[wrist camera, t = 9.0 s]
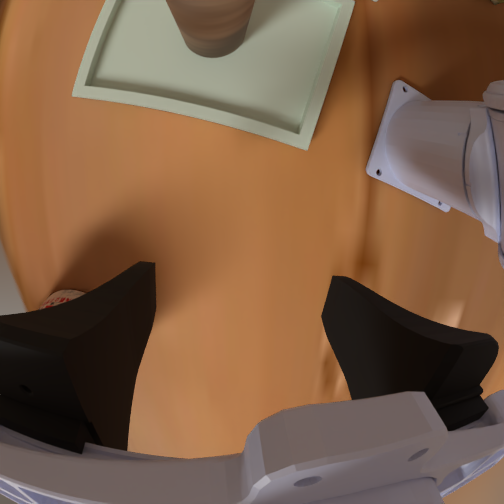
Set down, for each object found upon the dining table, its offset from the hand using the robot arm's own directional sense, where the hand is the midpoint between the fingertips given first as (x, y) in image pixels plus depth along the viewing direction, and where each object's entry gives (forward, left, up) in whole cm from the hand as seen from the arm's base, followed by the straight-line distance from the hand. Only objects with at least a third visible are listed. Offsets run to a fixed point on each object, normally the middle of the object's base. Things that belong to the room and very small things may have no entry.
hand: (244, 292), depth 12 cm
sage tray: (+5, -12, -10) cm, 16 cm away
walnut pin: (+5, -12, -9) cm, 16 cm away
